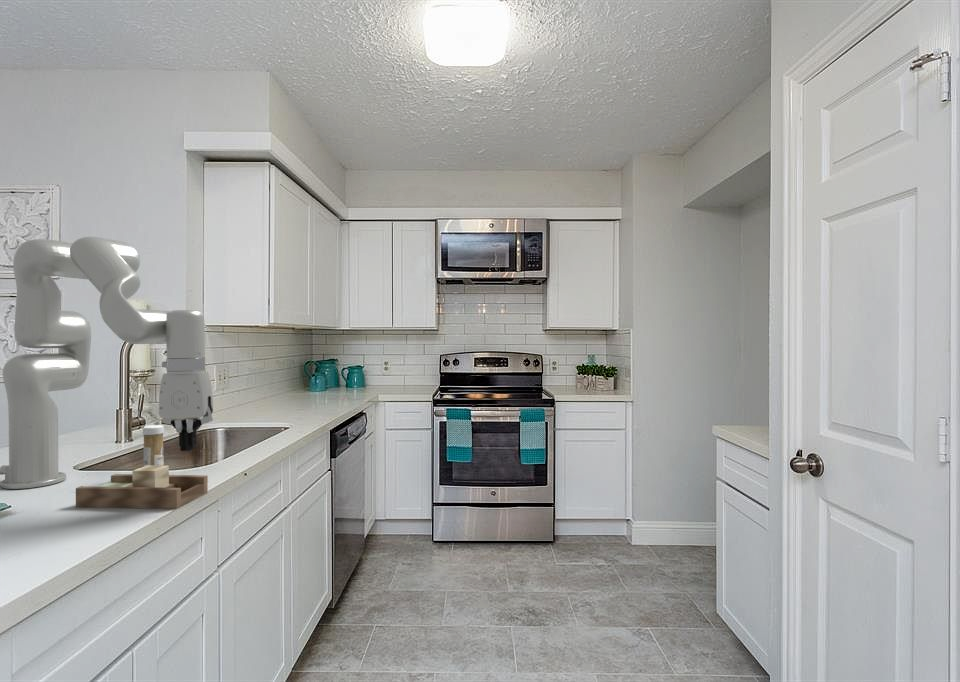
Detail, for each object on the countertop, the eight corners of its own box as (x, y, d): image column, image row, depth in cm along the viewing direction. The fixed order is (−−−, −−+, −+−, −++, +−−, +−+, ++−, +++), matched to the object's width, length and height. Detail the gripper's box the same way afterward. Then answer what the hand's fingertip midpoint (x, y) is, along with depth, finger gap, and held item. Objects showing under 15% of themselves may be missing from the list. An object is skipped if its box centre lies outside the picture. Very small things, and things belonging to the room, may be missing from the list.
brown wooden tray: (75, 507, 119) (75, 488, 118) (115, 491, 131) (115, 474, 130) (176, 508, 117) (176, 489, 117) (207, 492, 129) (207, 475, 129)
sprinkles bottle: (164, 479, 141) (164, 426, 141) (143, 482, 138) (143, 428, 138) (163, 476, 145) (163, 424, 144) (142, 478, 142) (142, 425, 142)
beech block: (132, 491, 121) (132, 470, 121) (147, 485, 126) (147, 465, 126) (154, 491, 121) (154, 471, 121) (168, 485, 126) (168, 465, 126)
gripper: (142, 367, 120) (144, 453, 120) (210, 366, 119) (212, 453, 119) (163, 366, 127) (165, 446, 127) (228, 365, 126) (229, 446, 127)
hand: (188, 449), depth 123 cm, fingers closed
